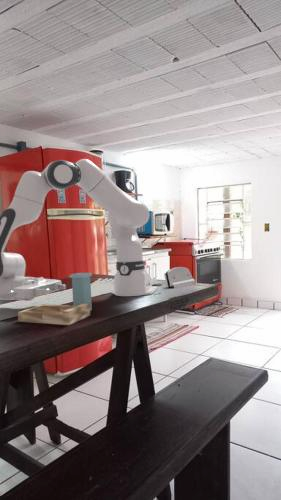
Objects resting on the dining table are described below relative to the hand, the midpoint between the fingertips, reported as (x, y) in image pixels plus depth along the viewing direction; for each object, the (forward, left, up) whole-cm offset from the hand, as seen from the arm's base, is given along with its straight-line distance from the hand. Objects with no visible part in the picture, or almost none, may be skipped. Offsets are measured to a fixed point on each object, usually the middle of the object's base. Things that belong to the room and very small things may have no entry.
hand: (56, 289), depth 123 cm
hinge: (-60, +28, -8) cm, 66 cm away
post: (0, +10, -7) cm, 13 cm away
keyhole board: (+11, +7, -7) cm, 15 cm away
